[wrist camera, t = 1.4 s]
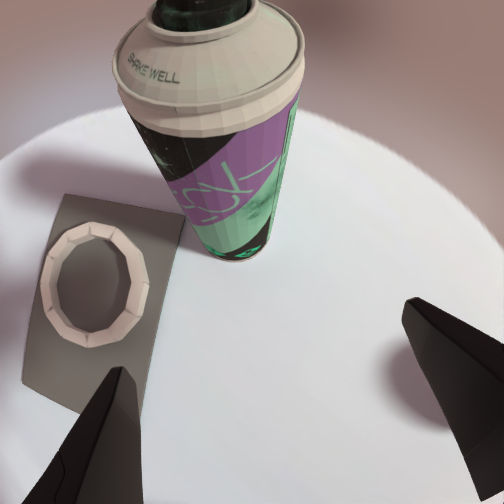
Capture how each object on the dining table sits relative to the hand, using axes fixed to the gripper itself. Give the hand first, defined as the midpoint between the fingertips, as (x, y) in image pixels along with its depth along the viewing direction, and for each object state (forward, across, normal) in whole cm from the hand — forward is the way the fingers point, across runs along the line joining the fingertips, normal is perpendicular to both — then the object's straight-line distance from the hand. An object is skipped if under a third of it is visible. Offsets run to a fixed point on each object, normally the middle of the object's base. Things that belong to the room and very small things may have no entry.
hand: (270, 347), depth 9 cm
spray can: (+16, 0, +4) cm, 16 cm away
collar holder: (+12, +13, +7) cm, 19 cm away
